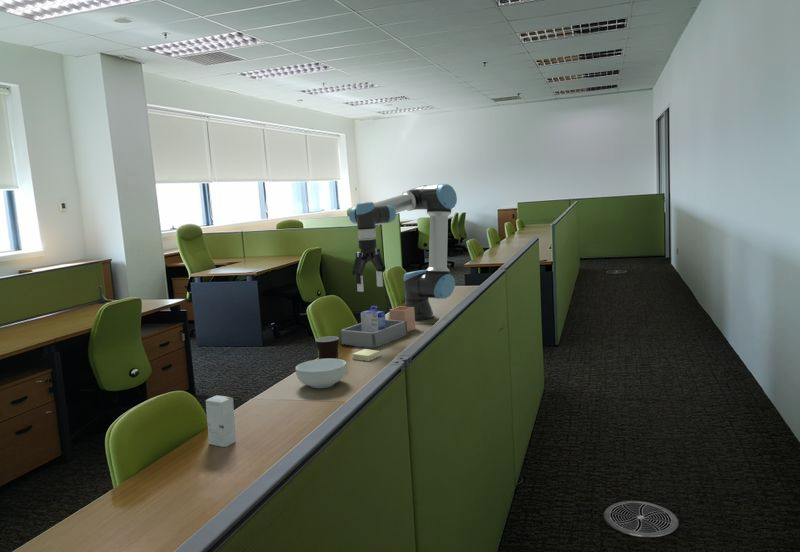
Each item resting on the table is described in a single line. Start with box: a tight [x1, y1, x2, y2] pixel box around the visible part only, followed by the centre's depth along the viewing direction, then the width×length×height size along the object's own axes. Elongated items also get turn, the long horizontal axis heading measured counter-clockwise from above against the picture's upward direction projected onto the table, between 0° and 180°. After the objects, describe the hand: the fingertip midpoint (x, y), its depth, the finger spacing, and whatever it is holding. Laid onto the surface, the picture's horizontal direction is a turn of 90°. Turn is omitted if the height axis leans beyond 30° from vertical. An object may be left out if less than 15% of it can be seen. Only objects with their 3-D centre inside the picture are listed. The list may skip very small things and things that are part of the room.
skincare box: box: [205, 394, 237, 448], centre depth 162 cm, size 6×4×12 cm
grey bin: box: [339, 319, 408, 349], centre depth 267 cm, size 24×18×6 cm
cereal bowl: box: [295, 358, 348, 389], centre depth 207 cm, size 17×17×7 cm
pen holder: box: [389, 305, 417, 333], centre depth 281 cm, size 8×8×10 cm
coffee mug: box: [315, 335, 340, 359], centre depth 232 cm, size 12×9×10 cm
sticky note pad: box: [351, 348, 381, 362], centre depth 238 cm, size 8×8×2 cm
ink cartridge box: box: [360, 305, 386, 333], centre depth 266 cm, size 10×6×14 cm, turn 53°
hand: (370, 288), depth 264 cm, fingers open, 13 cm apart
